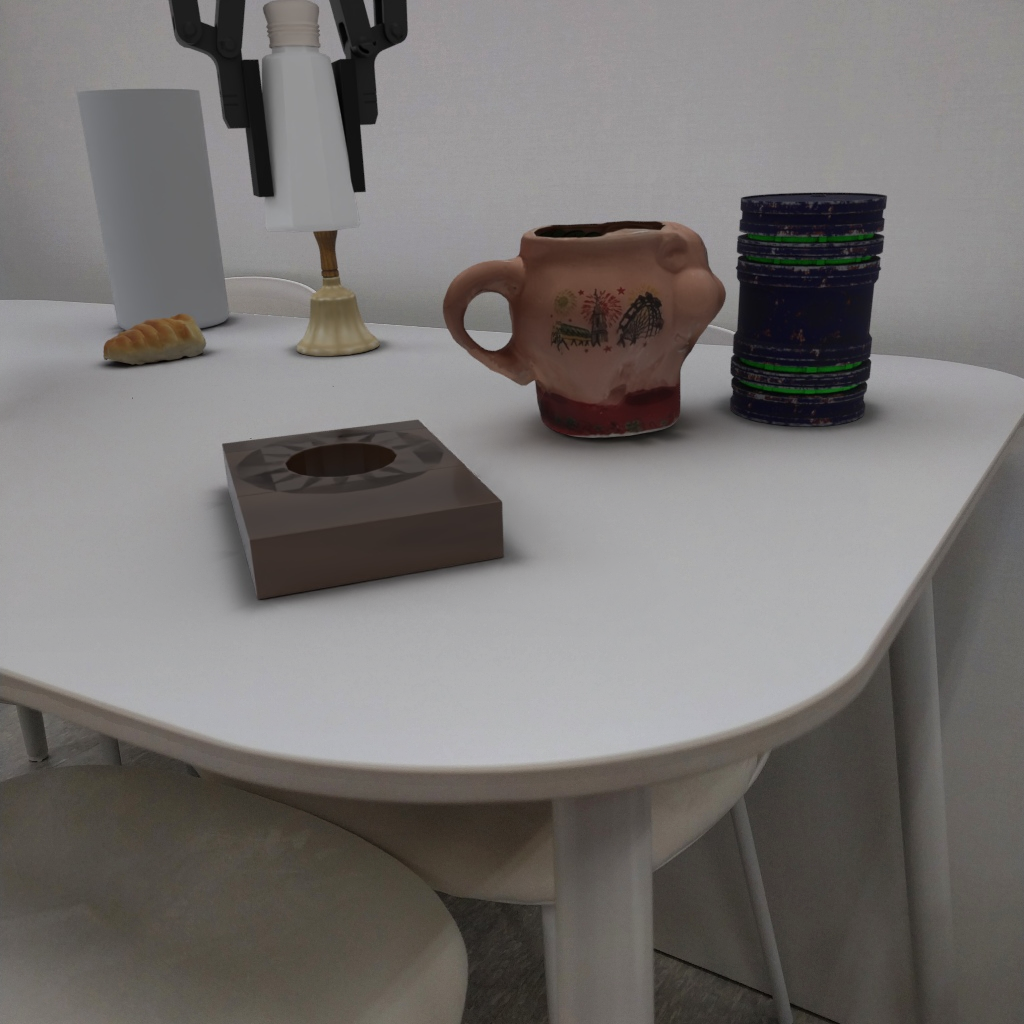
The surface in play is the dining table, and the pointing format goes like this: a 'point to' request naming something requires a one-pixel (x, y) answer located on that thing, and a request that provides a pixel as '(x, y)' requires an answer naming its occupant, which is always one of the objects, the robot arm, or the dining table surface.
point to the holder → (356, 507)
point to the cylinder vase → (155, 204)
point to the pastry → (157, 341)
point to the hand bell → (334, 311)
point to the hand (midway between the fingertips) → (309, 192)
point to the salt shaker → (303, 127)
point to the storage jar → (805, 306)
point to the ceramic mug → (597, 321)
